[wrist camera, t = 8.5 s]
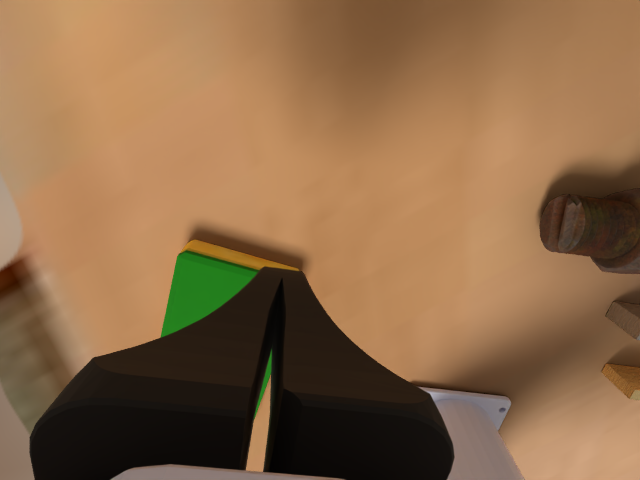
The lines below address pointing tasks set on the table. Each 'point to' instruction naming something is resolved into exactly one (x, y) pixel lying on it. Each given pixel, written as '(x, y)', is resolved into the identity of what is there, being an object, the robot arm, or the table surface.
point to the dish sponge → (210, 285)
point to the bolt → (596, 229)
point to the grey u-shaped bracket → (626, 317)
